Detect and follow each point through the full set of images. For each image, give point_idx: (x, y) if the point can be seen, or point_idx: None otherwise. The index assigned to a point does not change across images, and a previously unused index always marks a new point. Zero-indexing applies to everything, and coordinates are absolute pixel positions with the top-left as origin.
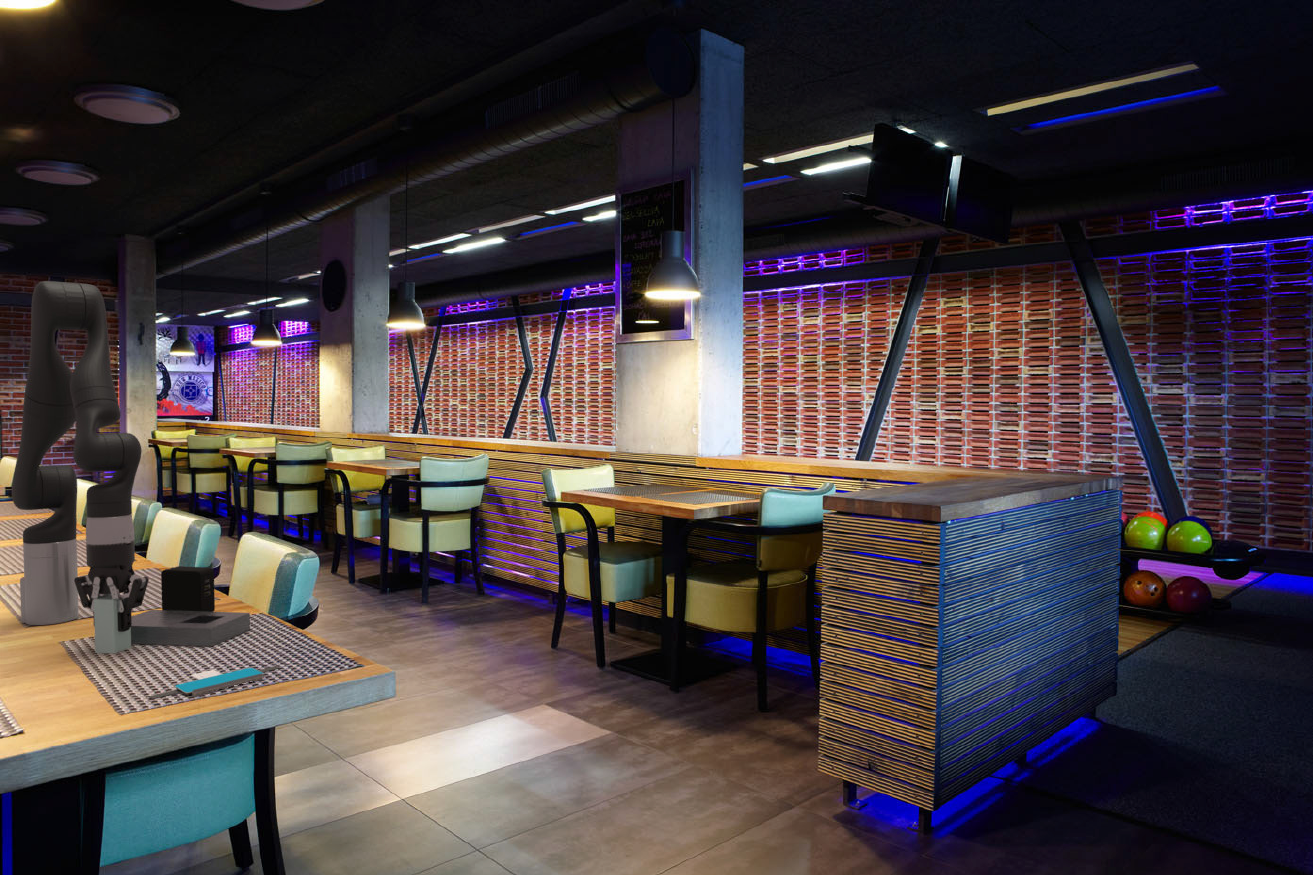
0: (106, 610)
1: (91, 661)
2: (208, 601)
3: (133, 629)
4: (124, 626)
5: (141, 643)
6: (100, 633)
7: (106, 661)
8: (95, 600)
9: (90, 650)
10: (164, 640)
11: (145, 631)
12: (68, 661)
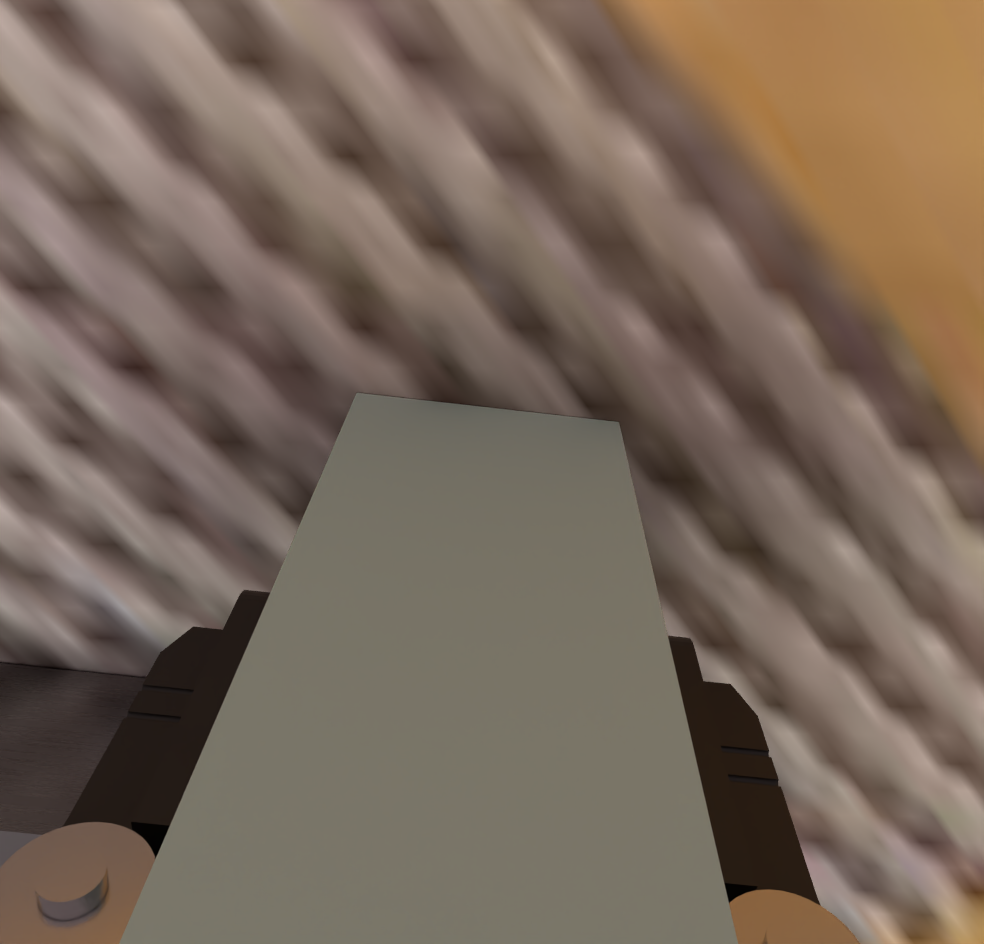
0: (373, 830)
1: (406, 46)
2: None
3: None
4: (190, 652)
5: None
6: (544, 536)
7: (195, 48)
8: None
9: (736, 506)
10: (20, 700)
11: None
12: (737, 43)
